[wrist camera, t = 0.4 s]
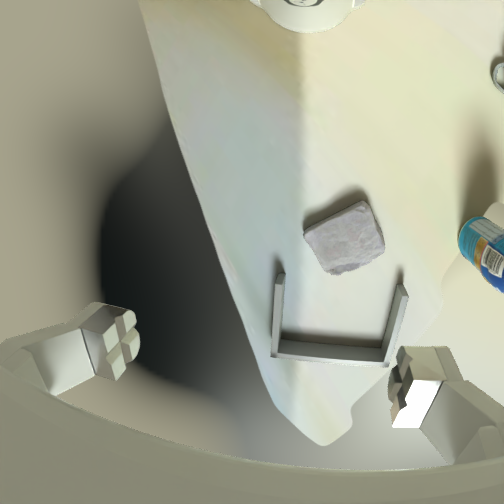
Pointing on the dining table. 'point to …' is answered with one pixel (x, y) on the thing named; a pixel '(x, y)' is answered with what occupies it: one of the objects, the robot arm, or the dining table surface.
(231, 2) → the dining table surface
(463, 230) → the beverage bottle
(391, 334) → the box
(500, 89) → the ceramic mug
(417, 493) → the robot arm
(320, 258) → the stone block
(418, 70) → the dining table surface
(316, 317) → the dining table surface
